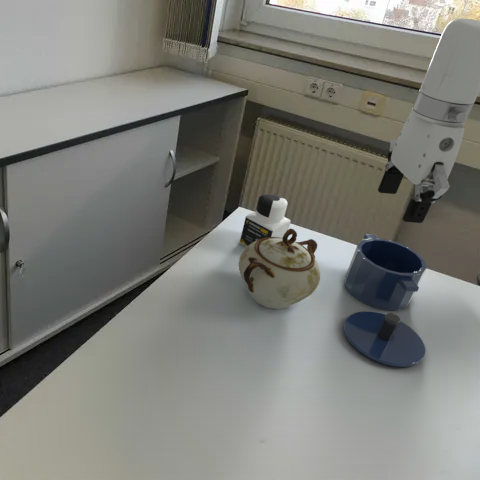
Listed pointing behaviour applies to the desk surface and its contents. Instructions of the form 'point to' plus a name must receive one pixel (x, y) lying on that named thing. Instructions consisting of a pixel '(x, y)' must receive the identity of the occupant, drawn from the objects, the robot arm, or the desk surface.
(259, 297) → the sugar bowl
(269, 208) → the medicine bottle
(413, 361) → the lid
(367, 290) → the pot
